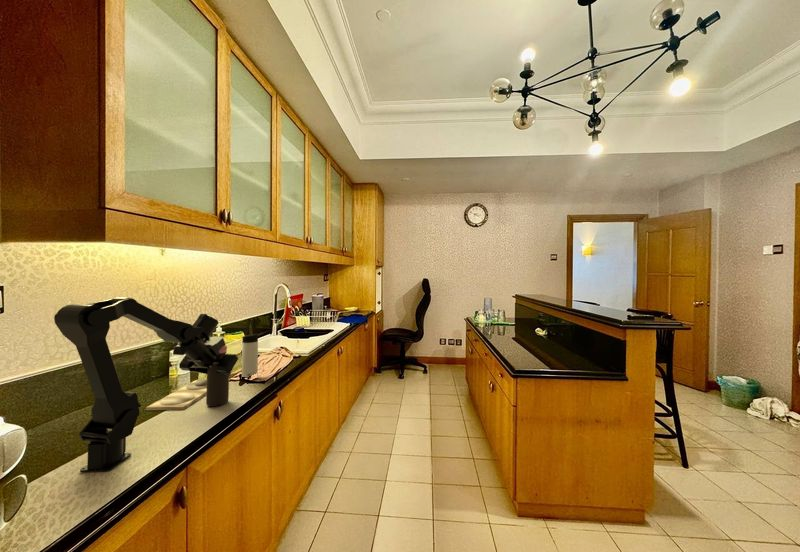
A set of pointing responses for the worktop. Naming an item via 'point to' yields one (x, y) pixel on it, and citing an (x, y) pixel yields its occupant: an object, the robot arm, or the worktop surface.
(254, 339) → the travel mug
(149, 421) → the worktop surface
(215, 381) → the vinegar
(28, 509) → the worktop surface
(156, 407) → the board
